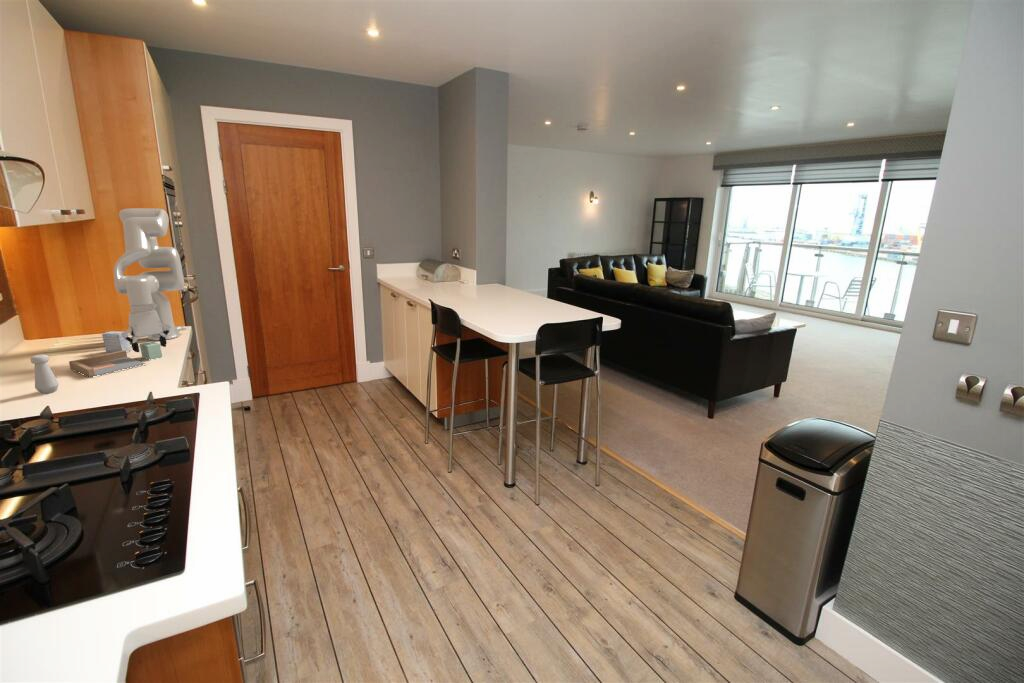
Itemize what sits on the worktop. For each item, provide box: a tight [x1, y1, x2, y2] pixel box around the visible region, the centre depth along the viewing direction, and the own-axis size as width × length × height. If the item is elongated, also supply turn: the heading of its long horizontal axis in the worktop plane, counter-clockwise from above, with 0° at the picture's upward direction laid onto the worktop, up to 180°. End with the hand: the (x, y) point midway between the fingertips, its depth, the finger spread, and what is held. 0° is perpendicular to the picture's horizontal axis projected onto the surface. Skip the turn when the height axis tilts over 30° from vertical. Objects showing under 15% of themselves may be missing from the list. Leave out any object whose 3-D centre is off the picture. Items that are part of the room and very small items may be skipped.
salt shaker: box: [30, 353, 59, 395], centre depth 163 cm, size 6×6×13 cm
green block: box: [139, 341, 163, 361], centre depth 202 cm, size 4×7×6 cm, turn 58°
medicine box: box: [101, 330, 132, 354], centre depth 209 cm, size 8×4×9 cm, turn 84°
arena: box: [68, 350, 147, 378], centre depth 190 cm, size 18×18×3 cm
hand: (150, 349), depth 201 cm, fingers open, 9 cm apart
